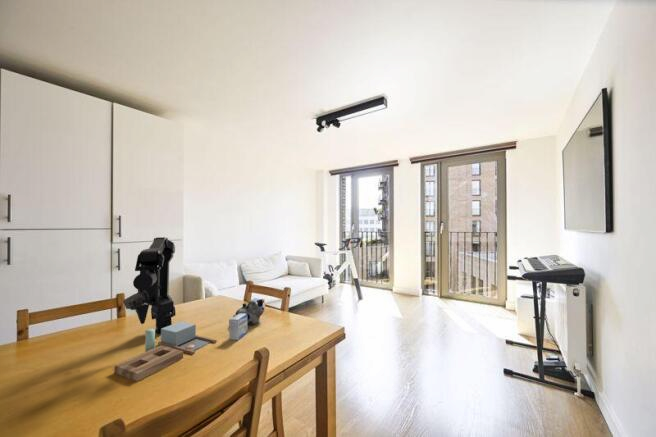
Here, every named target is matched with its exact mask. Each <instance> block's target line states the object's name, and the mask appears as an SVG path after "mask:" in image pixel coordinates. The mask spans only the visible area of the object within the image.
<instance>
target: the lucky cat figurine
mask: <svg viewBox="0 0 656 437" xmlns="http://www.w3.org/2000/svg"><path fill="white" fill-rule="evenodd" d="M265 308H266V303H265V298H259V297H255V298H252V299H250V300H249V301H248V304H247V303H246V302H243V304H242V307H240V308H238V309H237V310H236V312H235V314H234V315H233V316H232V318H233V317H234V316H236V315H237V314H240V313H242V314H247V325H250V326H254V325H256V324H258V323H260V318H261V316H262V315H263V314H264V312H265Z"/></svg>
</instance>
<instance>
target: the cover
mask: <svg viewBox="0 0 656 437" xmlns="http://www.w3.org/2000/svg"><path fill="white" fill-rule="evenodd" d="M196 329H197V328H196V323H191V322H186V321H183V320H181V321H178V322H176V323H173V324H172V325H170V326H167V327H164V328H162V329H161V334H160V342H163V343H167V344H171V345H175V346H178V347H179V346H181V345H183V344H186V343H188V342H190V341H192V340H194V339H196V338H195V337H196V335H197V334H196Z"/></svg>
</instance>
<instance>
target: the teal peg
mask: <svg viewBox="0 0 656 437" xmlns="http://www.w3.org/2000/svg"><path fill="white" fill-rule="evenodd" d="M155 329H156V328H148V329H146V330H145V333H144V334H145V337H144V338H145V339H144V340H145V341H144V342H145V343H144V345H145V346H144V347H145V349H144V351H145V352H147V351H149V350H151V349H154V348H156V332H155Z"/></svg>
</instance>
